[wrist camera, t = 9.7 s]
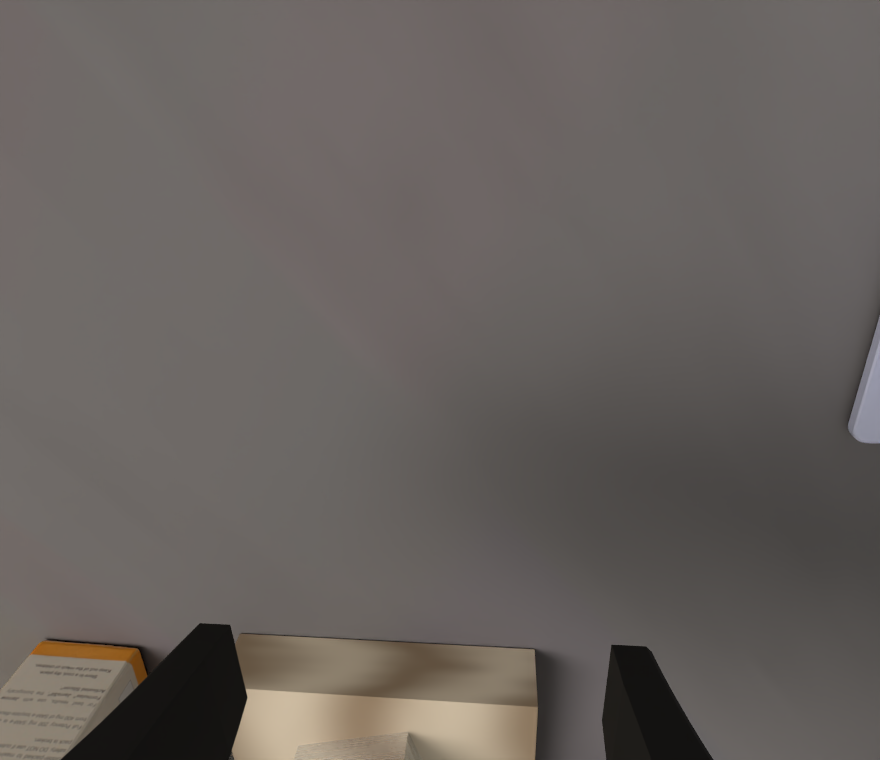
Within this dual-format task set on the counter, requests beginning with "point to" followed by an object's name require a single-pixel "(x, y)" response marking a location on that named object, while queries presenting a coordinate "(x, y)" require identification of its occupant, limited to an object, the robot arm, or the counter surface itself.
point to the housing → (362, 749)
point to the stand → (386, 696)
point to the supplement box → (63, 696)
